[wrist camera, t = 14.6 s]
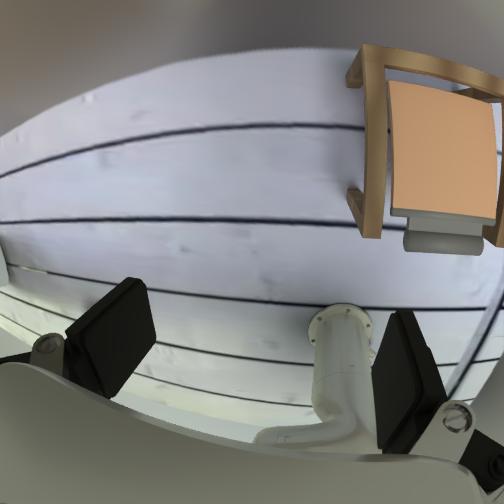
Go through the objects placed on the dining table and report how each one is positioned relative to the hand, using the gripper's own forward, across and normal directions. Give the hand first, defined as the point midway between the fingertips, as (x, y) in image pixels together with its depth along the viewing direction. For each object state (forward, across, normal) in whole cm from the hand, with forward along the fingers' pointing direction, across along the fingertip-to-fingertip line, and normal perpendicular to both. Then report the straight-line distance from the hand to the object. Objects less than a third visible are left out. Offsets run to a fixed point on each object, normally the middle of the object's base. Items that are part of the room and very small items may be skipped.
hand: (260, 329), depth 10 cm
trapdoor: (+22, -16, -5) cm, 28 cm away
